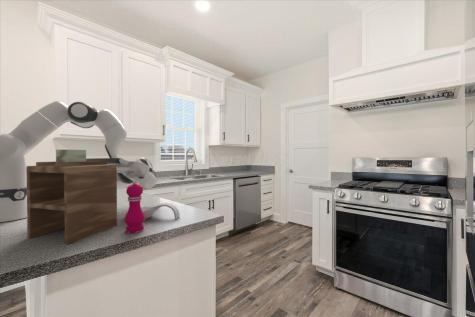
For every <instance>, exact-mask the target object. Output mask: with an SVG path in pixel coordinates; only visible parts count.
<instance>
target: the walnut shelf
mask: <svg viewBox="0 0 475 317" xmlns="http://www.w3.org/2000/svg"><path fill="white" fill-rule="evenodd" d="M26 172H27V217H26V218H27V219H26V224H27V225H26V226H27V230H26V231H27V239H33V238H37V237H38V236H43V235H45V234H50V233H51V232H56V231H59V230H62V229H64V245H72V244H74V243H76V242H77V243H78V242H79V241H81V240H85V239H86V238H87V239H88V238H89V237H92V236H95V235H97V234H100V233H102V232H104V231H105V232H106V231H108V230H109V229H112V228H115V227H117V226H118V195H117V194H118V174H117V165H112V164H107V161H86V162H57V163H56V161H36V162H35V165H26Z"/></svg>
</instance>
